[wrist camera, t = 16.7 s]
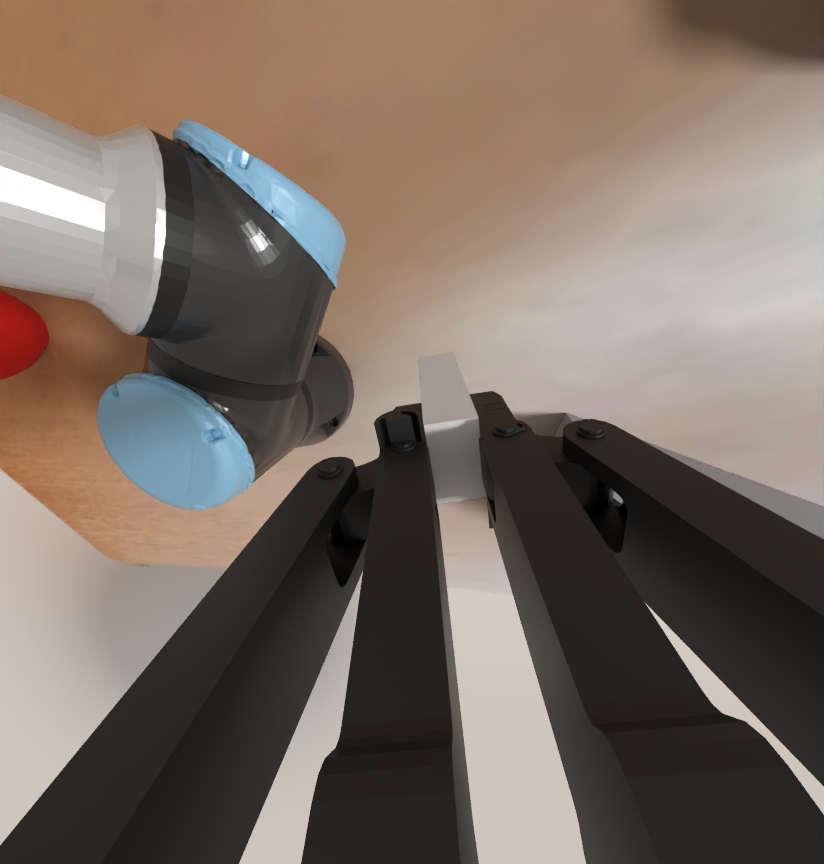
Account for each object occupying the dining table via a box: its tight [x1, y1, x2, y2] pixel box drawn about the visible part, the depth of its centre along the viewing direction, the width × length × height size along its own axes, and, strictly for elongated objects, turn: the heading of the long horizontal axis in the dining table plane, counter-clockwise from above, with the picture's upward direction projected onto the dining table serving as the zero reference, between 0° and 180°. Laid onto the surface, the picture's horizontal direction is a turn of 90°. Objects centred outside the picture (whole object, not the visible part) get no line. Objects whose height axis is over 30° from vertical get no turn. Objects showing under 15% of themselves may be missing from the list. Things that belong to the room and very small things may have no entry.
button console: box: [553, 413, 824, 539], centre depth 38 cm, size 10×34×14 cm, turn 72°
